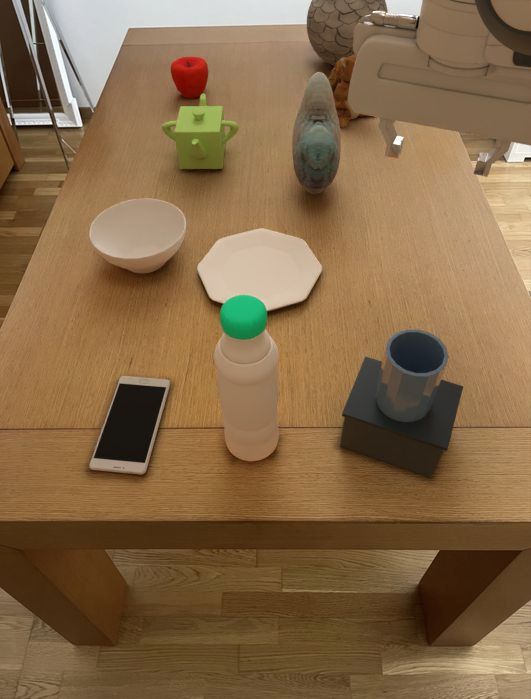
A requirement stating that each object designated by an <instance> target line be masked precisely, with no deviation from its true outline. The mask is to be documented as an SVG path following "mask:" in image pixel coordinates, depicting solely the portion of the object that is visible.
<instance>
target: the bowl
mask: <svg viewBox="0 0 531 699" xmlns="http://www.w3.org/2000/svg"><path fill="white" fill-rule="evenodd" d="M186 232H187V220H186V217H185V214H184V213H183V211H182V210H181V209H180V208H179V207H178V206H176V205H175V204H173V203H171V202H168V201H165V200H162V199H159V198H134V199H128V200H124V201H121V202H118V203H115V204H113V205H111V206H109V207H107V208H105V209H104V210H102V211H101V212H100V213H99V214H98V215H97V216H96V217H95V218H94V220H93V221H92V222H91V224H90V227H89V231H88V235H89V242H90V243H91V246H92V247H93V249H94V250H95V252H96V253H97V254H98V255H99V256H100V257H101V258H103V259H104V260H105V261H107V262H108V263H110V264H112V265H113V266H117V267H118V268H121V269H124V270H128V271H129V272H131V273H135V274H149V273H153V272H155V271H158V270H159V269H161V268H162V267H163V266H164V265H165V264H166V263H167V262H168V261H169V260H170V259H171V258H172V257H173V256H174V255H175V254H176V253H177V252H178V251H179V249H180V248H181V246H182V244H183V243H184V241H185V237H186Z"/></svg>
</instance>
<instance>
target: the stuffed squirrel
mask: <svg viewBox="0 0 531 699" xmlns="http://www.w3.org/2000/svg"><path fill="white" fill-rule="evenodd" d="M356 58H357V57H356V56H355V55H352V56H349V57H348V58H345V57H343V58H341V59H340V60H339V61H337V63H336V65H335V66H333V67H332V68H333V69H331V71H330V76H329V78H328V80H329V82H330V85H331V88H332V92H333V98H334V102H335V108H336V111H337V115H338V119H339V124H340V129H343V128H347V127H348V125H349V124H350V121H351V120H354V119H357V118H358V117H370V116H369V115H364V114H359V113H355V112H353V111H352V109H351V107H350V106H349V104H348V92H349V86H350V81H351V76H352V72H353V68H354V64H355V61H356Z"/></svg>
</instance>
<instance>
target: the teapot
mask: <svg viewBox="0 0 531 699" xmlns="http://www.w3.org/2000/svg"><path fill="white" fill-rule="evenodd" d="M172 127H175V128H174V131H173V130H172ZM226 127H228V128H230V129H229V130H228V132H227V133H226ZM239 129H240V126H239V123H237V122H236V121H233V120H228V119H225V114H224V106H223V105H208V104H207V94H206V93H204V92H203V94H201V96H199V105H188V106H187V105H181V106H179V110H178V115H177V119H176V120H170V121H166V122H164V123H163V124H162V125H161V130H162V132H163V133H164V134H165V135H166V136H167V137H168V138H169V139H171V140H173V141H174V142H175V147H176V148H175V149H176V154H177V160H178V166H179V170H219V169H221V170H222V169H223V168H224V163H225V162H224V161H225V153H226V152H225V151H226V143H227V142H228V141H230V140H231V139H232V138H233V137H234V136H235V135H236V134H237V133H238V131H239Z"/></svg>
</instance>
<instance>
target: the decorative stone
mask: <svg viewBox="0 0 531 699" xmlns="http://www.w3.org/2000/svg"><path fill="white" fill-rule="evenodd" d="M291 140H292V141H291V148H292V149H291V152H292V153H291V154H292V164H293V169H294V173H295V176H296V178H297V180H298V183H299V184H300V185H301V187H302V188H303V189H304V190H305V191H306V192H307V193H309V194H310V195H318V194H321V193H322V192H324V191H325V190H326V189H327V188H328V187H329V186H330V185H331V184H332V183H333V181H334V180H335V178H336V176H337V174H338V170H339V167H340V162H341V149H342V148H341V145H342V134H341V127H340V124H339V119H338V115H337V111H336V108H335V102H334V98H333V92H332V88H331V85H330V82H329V78H328V77H327V75H326V74H325V73H323V71H316V72H315V73H314V74H313V75H312V76H311V77H310V78H309V80H308V82H307V84H306V86H305V90H304V93H303V97H302V100H301V102H300V107H299V109H298V111H297V114H296V117H295V120H294V124H293V128H292V139H291Z"/></svg>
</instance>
